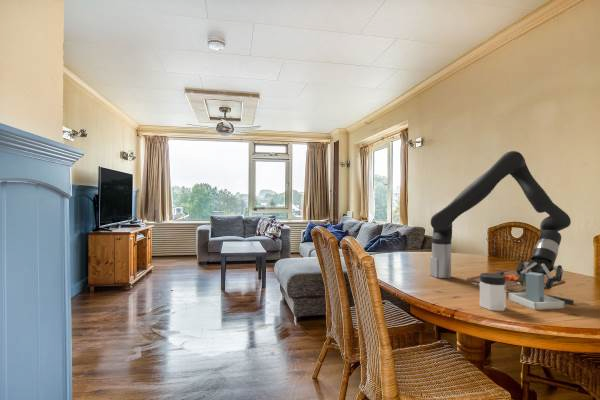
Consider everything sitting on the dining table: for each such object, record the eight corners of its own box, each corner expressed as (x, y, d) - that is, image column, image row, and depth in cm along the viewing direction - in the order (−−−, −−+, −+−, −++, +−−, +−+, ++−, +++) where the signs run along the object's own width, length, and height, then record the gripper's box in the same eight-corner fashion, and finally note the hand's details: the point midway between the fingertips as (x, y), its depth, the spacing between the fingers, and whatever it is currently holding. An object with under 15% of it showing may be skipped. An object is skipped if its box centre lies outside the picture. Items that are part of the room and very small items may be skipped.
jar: (482, 301, 126) (482, 271, 126) (507, 306, 121) (507, 274, 121) (477, 308, 119) (477, 275, 119) (503, 313, 114) (503, 279, 114)
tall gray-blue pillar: (525, 301, 124) (525, 273, 124) (531, 299, 127) (531, 271, 127) (538, 304, 121) (538, 275, 121) (543, 302, 124) (544, 273, 124)
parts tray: (534, 310, 117) (534, 303, 117) (508, 299, 129) (508, 293, 129) (564, 308, 119) (564, 301, 119) (535, 297, 131) (535, 291, 131)
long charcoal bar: (538, 297, 131) (538, 293, 131) (539, 296, 132) (539, 293, 132) (572, 304, 122) (572, 300, 122) (573, 303, 123) (573, 300, 123)
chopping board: (520, 296, 134) (520, 289, 134) (460, 282, 158) (461, 275, 158) (568, 282, 157) (568, 275, 157) (510, 271, 180) (510, 265, 180)
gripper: (522, 244, 134) (510, 276, 127) (565, 249, 122) (554, 284, 116) (527, 256, 137) (515, 287, 130) (569, 261, 125) (559, 296, 119)
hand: (533, 285), depth 123 cm, fingers open, 8 cm apart
